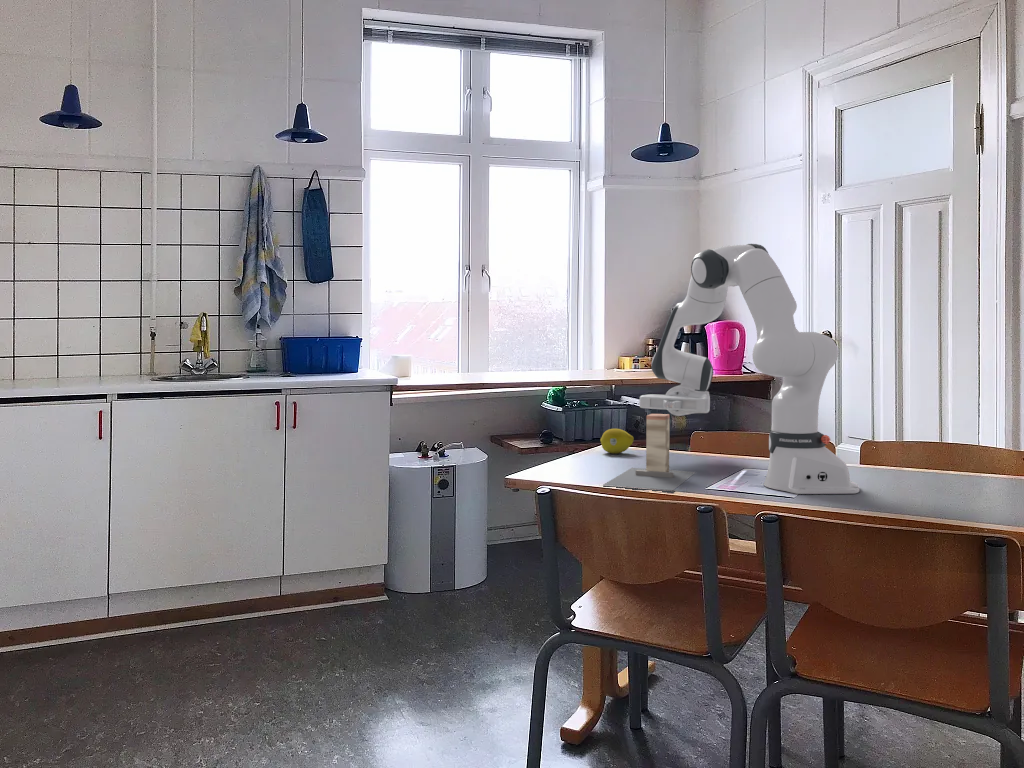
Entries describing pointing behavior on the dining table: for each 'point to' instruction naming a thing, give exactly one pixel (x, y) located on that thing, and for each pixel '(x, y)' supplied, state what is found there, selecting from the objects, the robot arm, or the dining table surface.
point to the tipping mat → (650, 480)
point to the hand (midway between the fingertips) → (668, 405)
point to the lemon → (616, 441)
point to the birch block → (657, 442)
